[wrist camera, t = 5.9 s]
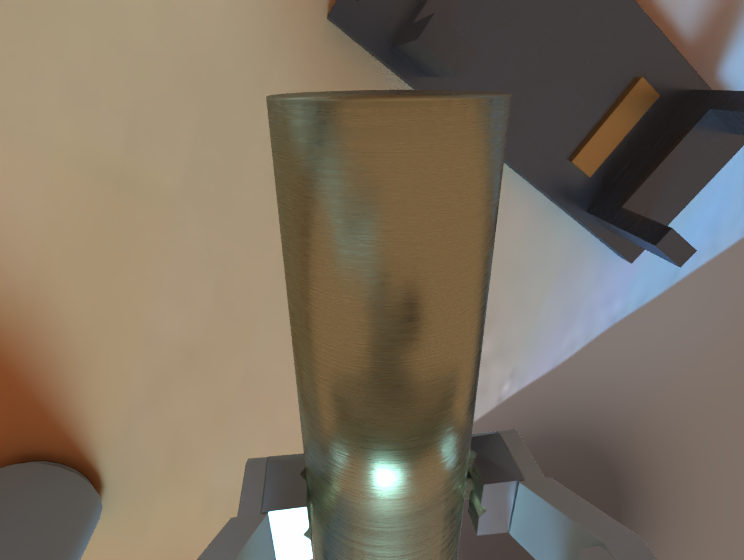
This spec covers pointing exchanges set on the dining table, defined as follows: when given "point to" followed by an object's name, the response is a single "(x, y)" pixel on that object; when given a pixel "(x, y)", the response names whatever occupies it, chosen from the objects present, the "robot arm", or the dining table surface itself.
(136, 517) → the dining table surface
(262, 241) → the dining table surface
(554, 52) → the stand
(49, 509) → the can
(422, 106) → the tube
